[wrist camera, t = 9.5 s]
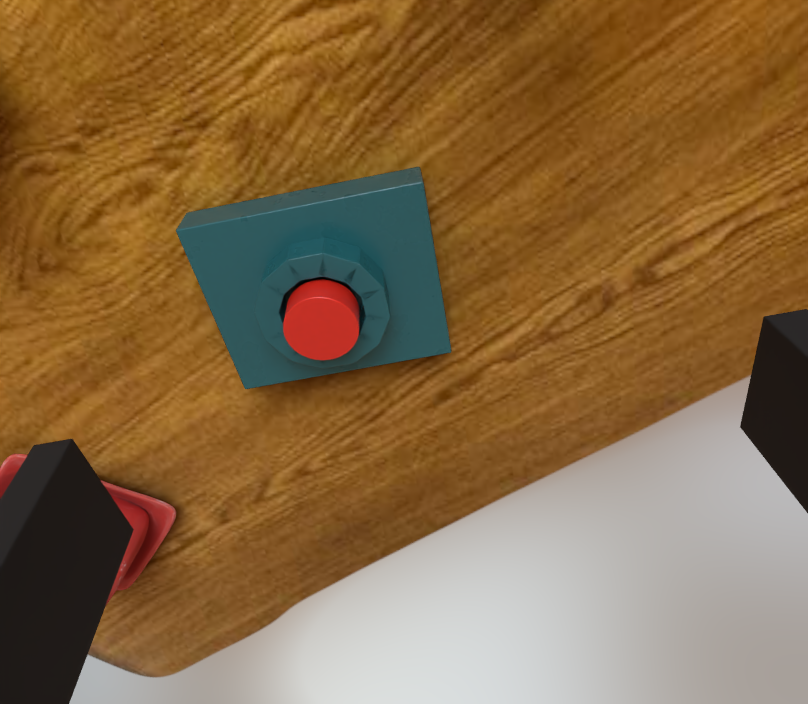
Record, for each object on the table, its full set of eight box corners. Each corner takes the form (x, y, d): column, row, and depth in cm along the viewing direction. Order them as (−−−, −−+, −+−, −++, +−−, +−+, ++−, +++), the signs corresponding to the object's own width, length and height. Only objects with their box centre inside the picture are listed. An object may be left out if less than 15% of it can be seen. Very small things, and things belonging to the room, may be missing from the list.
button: (350, 272, 29) (349, 290, 27) (366, 333, 31) (366, 353, 29) (277, 286, 29) (272, 305, 27) (298, 346, 31) (295, 366, 29)
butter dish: (189, 496, 42) (154, 608, 35) (131, 580, 47) (91, 692, 40) (17, 433, 38) (-61, 546, 31) (-26, 533, 43) (-101, 649, 36)
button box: (419, 166, 29) (426, 195, 26) (447, 331, 35) (455, 372, 32) (186, 212, 30) (164, 246, 27) (250, 366, 36) (239, 410, 33)
